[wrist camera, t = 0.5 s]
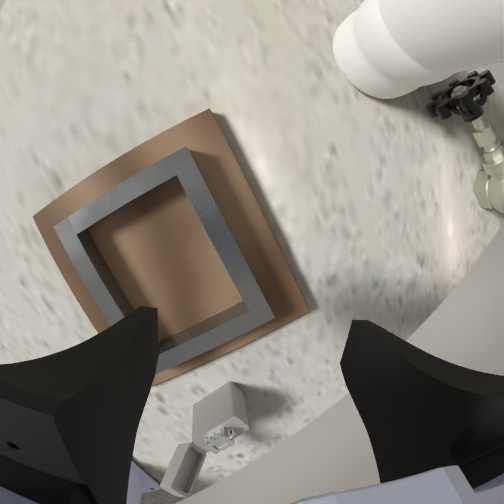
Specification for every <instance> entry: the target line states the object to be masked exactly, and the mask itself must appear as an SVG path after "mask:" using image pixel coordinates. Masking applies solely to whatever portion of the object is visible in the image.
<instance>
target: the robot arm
mask: <svg viewBox="0 0 504 504" xmlns="http://www.w3.org/2000/svg"><path fill="white" fill-rule="evenodd" d="M158 358H159V343H158V308H153V307H144V306H141V307H139V308H137V309H136V310H134V311H133V312H131V313H130V314H128V315H127V316H126V317H124V318H123V319H121V320H120V321H118V322H117V323H115V324H114V325H112V326H111V327H109V328H107V329H106V330H104V331H102V332H101V333H99V334H97V335H95V336H94V337H92V338H90V339H88V340H86V341H84V342H82V343H80V344H78V345H76V346H73V347H71V348H69V349H66V350H63V351H60V352H57V353H54V354H51V355H48V356H45V357H42V358H38V359H34V360H29V361H24V362H19V363H12V364H2V365H0V504H141V496H142V494H143V493H148V492H153V491H158V490H160V489H161V487H160V485H159V484H158V483H157V482H156V481H154V480H153V479H152V478H151V477H150V476H149V475H147V474H146V473H145V472H144V471H143V470H142V469H141V468H139V467H138V466H137V465H136V464H135V463H134V462H133V461H132V455H133V449H134V444H135V438H136V433H137V429H138V425H139V422H140V419H141V416H142V413H143V410H144V407H145V404H146V401H147V398H148V395H149V392H150V389H151V386H152V383H153V380H154V377H155V373H156V368H157V363H158ZM340 365H341V369H342V373H343V376H344V380H345V383H346V386H347V388H348V390H349V392H350V395H351V397H352V399H353V401H354V403H355V405H356V408H357V410H358V412H359V414H360V416H361V418H362V420H363V423H364V425H365V427H366V430H367V432H368V435H369V438H370V442H371V445H372V448H373V452H374V455H375V459H376V463H377V468H378V472H379V477H380V482H381V484H377V485H372V486H367V487H362V488H357V489H351V490H345V491H338V492H331V493H327V494H323V495H319V496H314V497H310V498H305V499H301V500H299V501H297V502H294V503H292V504H504V376H499V375H494V374H488V373H483V372H479V371H475V370H471V369H468V368H464V367H461V366H458V365H455V364H452V363H449V362H447V361H444V360H442V359H440V358H437V357H435V356H433V355H431V354H428V353H426V352H424V351H423V350H421V349H419V348H417V347H415V346H413V345H411V344H409V343H408V342H406V341H404V340H402V339H401V338H399V337H397V336H396V335H394V334H392V333H390V332H389V331H387V330H385V329H384V328H382V327H380V326H378V325H376V324H374V323H372V322H370V321H367V320H352V324H351V327H350V331H349V335H348V338H347V342H346V345H345V348H344V352H343V355H342V359H341V362H340Z"/></svg>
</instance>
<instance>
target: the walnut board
mask: <svg viewBox="0 0 504 504" xmlns="http://www.w3.org/2000/svg"><path fill="white" fill-rule="evenodd" d="M186 146H187V148H188V149H189V151H190V153H191V155H192V157H193V159H194V161H195V163H196V165H197V167H198V169H199V171H200V173H201V175H202V176H203V178H204V180H205V182H206V184H207V186H208V188H209V190H210V192H211V194H212V196H213V198H214V200H215V202H216V204H217V206H218V208H219V210H220V212H221V214H222V215H223V217H224V219H225V221H226V223H227V225H228V227H229V229H230V231H231V233H232V235H233V237H234V239H235V241H236V243H237V245H238V246H239V248H240V250H241V252H242V254H243V256H244V258H245V260H246V262H247V264H248V266H249V268H250V270H251V272H252V273H253V275H254V277H255V279H256V281H257V283H258V285H259V287H260V289H261V291H262V293H263V295H264V296H265V298H266V300H267V302H268V304H269V306H270V308H271V310H272V312H273V314H274V316H275V318H274V319H272V320H270V321H268V322H266V323H264V324H262V325H260V326H258V327H256V328H254V329H252V330H250V331H248V332H246V333H244V334H242V335H240V336H238V337H236V338H234V339H232V340H230V341H227V342H225V343H223V344H221V345H219V346H217V347H215V348H213V349H211V350H208V351H206V352H204V353H202V354H200V355H198V356H196V357H193V358H191V359H189V360H187V361H185V362H182V363H180V364H178V365H176V366H173V367H171V368H169V369H167V370H164V371H162V372H160V373H157V374H155V377H154V380H153V383H152V386H153V385H156V384H158V383H161V382H163V381H165V380H168V379H170V378H173V377H175V376H177V375H179V374H182V373H184V372H186V371H189V370H191V369H193V368H195V367H198V366H200V365H202V364H204V363H206V362H209V361H211V360H213V359H215V358H217V357H219V356H222V355H224V354H226V353H228V352H230V351H232V350H234V349H236V348H239V347H241V346H243V345H245V344H247V343H249V342H251V341H253V340H255V339H257V338H259V337H261V336H263V335H265V334H267V333H269V332H271V331H273V330H275V329H277V328H279V327H281V326H283V325H285V324H287V323H289V322H290V321H292V320H294V319H296V318H298V317H300V316H302V315H304V314H306V313H308V312H309V309H308V307H307V305H306V302H305V300H304V298H303V296H302V294H301V292H300V290H299V287H298V285H297V283H296V281H295V279H294V277H293V275H292V273H291V271H290V268H289V266H288V264H287V262H286V260H285V258H284V256H283V254H282V252H281V250H280V248H279V246H278V243H277V241H276V239H275V237H274V235H273V233H272V231H271V229H270V227H269V225H268V223H267V221H266V219H265V217H264V215H263V213H262V211H261V209H260V207H259V204H258V202H257V200H256V198H255V196H254V194H253V192H252V190H251V188H250V186H249V184H248V182H247V180H246V178H245V176H244V174H243V172H242V170H241V168H240V166H239V164H238V162H237V160H236V158H235V156H234V154H233V152H232V151H231V149H230V147H229V145H228V143H227V141H226V139H225V137H224V135H223V133H222V131H221V129H220V127H219V125H218V123H217V121H216V119H215V117H214V115H213V113H212V112H211V110H210V109H208V110H206V111H203V112H201V113H199V114H197V115H195V116H193V117H191V118H189V119H187V120H185V121H183V122H181V123H179V124H177V125H175V126H173V127H172V128H170V129H168V130H166V131H164V132H162V133H160V134H158V135H157V136H155V137H153V138H151V139H149V140H148V141H146V142H144V143H142V144H141V145H139V146H137V147H135V148H134V149H132V150H130V151H129V152H127V153H125V154H123V155H122V156H120V157H119V158H117V159H115V160H114V161H112V162H110V163H109V164H107V165H106V166H104V167H102V168H101V169H99V170H98V171H96V172H95V173H93V174H92V175H90V176H89V177H87V178H86V179H84V180H83V181H81V182H80V183H78V184H77V185H75V186H74V187H72V188H71V189H69V190H68V191H67V192H65V193H64V194H62V195H61V196H59V197H58V198H57V199H55V200H54V201H53V202H51V203H50V204H49V205H47V206H46V207H45V208H43V209H42V210H41V211H39V212H38V213H37V214H35V215H34V216H33V218H34V221H35V223H36V225H37V227H38V229H39V231H40V233H41V235H42V237H43V239H44V241H45V243H46V245H47V247H48V249H49V251H50V253H51V255H52V257H53V259H54V260H55V262H56V264H57V266H58V268H59V270H60V271H61V273H62V275H63V277H64V279H65V280H66V282H67V284H68V285H69V287H70V289H71V291H72V292H73V294H74V296H75V297H76V299H77V301H78V302H79V304H80V305H81V307H82V309H83V310H84V312H85V313H86V315H87V317H88V318H89V320H90V321H91V323H92V324H93V326H94V327H95V329H96V330H97V332H98V333H101V332H102V331H104V330H106V329H107V328H109V327H111V326H110V324H109V323H108V321H107V320H106V318H105V317H104V315H103V313H102V312H101V310H100V309H99V307H98V306H97V304H96V302H95V301H94V299H93V297H92V296H91V294H90V293H89V291H88V289H87V287H86V286H85V284H84V282H83V281H82V279H81V277H80V275H79V274H78V272H77V270H76V268H75V267H74V265H73V263H72V261H71V259H70V258H69V256H68V254H67V252H66V250H65V248H64V246H63V244H62V242H61V240H60V239H59V237H58V235H57V233H56V231H55V229H54V226H56V225H57V224H59V223H60V222H61V221H63V220H64V219H66V218H67V217H69V216H70V215H72V214H73V213H75V212H76V211H78V210H79V209H80V208H82V207H84V206H85V205H87V204H88V203H90V202H91V201H93V200H94V199H96V198H97V197H99V196H100V195H102V194H104V193H105V192H107V191H108V190H110V189H112V188H113V187H115V186H117V185H118V184H120V183H121V182H123V181H125V180H126V179H128V178H130V177H132V176H133V175H135V174H137V173H138V172H140V171H142V170H144V169H145V168H147V167H149V166H151V165H152V164H154V163H156V162H158V161H160V160H161V159H163V158H165V157H167V156H169V155H171V154H172V153H174V152H176V151H178V150H180V149H182V148H184V147H186ZM89 232H90V234H91V236H92V238H93V240H94V242H95V244H96V245H97V247H98V249H99V251H100V253H101V255H102V256H103V258H104V260H105V262H106V264H107V265H108V267H109V269H110V271H111V272H112V274H113V276H114V277H115V279H116V281H117V282H118V284H119V286H120V288H121V289H122V291H123V292H124V294H125V296H126V297H127V299H128V301H129V302H130V304H131V305H132V307H133V309H134V310H136V309H137V308H139V307H141V306H144V307H153V308H158V342H160V341H162V340H164V339H166V338H168V337H171V336H173V335H175V334H177V333H179V332H181V331H183V330H185V329H187V328H189V327H191V326H193V325H195V324H198V323H200V322H202V321H204V320H206V319H208V318H210V317H212V316H214V315H216V314H218V313H220V312H222V311H224V310H226V309H228V308H230V307H232V306H234V305H236V304H238V303H240V302H242V301H243V299H242V297H241V295H240V294H239V292H238V290H237V288H236V286H235V284H234V283H233V281H232V279H231V277H230V275H229V273H228V272H227V270H226V268H225V266H224V264H223V262H222V260H221V259H220V257H219V255H218V253H217V251H216V249H215V247H214V246H213V244H212V242H211V240H210V238H209V236H208V234H207V232H206V230H205V229H204V227H203V225H202V223H201V221H200V219H199V217H198V215H197V213H196V211H195V210H194V208H193V206H192V204H191V202H190V200H189V198H188V196H187V194H186V192H185V190H184V188H183V186H182V184H181V182H180V180H179V179H178V177H177V178H175V179H173V180H172V181H170V182H168V183H166V184H164V185H163V186H161V187H159V188H157V189H155V190H154V191H152V192H150V193H148V194H147V195H145V196H143V197H141V198H140V199H138V200H136V201H134V202H133V203H131V204H129V205H128V206H126V207H124V208H123V209H121V210H119V211H118V212H116V213H114V214H113V215H111V216H109V217H108V218H106V219H104V220H103V221H101V222H100V223H98V224H96V225H95V226H93V227H92V228H90V229H89Z"/></svg>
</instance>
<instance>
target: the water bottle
mask: <svg viewBox="0 0 504 504" xmlns="http://www.w3.org/2000/svg"><path fill="white" fill-rule="evenodd" d="M333 53H334V57H335V60H336V63H337V65H338V67H339V69H340V70H341V72H342V73H343V75H344V76H345V77H346V78H347V80H348V81H349V82H350V83H351V84H353V85H354V86H355V87H356V88H357V89H359V90H360V91H362V92H364V93H366V94H368V95H370V96H373V97H376V98H381V99H392V98H397V97H400V96H403V95H405V94H408V93H410V92H412V91H414V90H416V89H417V88H419V87H420V86H426V85H431V84H434V83H437V82H440V81H442V80H444V79H447V78H448V77H450V76H452V75H453V74H454V73H457V72H462V71H467V70H472V69H476V68H480V67H484V66H488V65H492V64H496V63H499V62H503V61H504V0H364V1H363V2H362V4H361V5H360V7H359V9H357V10H356V11H354V12H353V13H352V14H351V15H349V16H348V17H347V18H346V19H345V20H344V21H343V22H342V23H341V24H340V26H339V27H338V28H337V30H336V32H335V35H334V38H333Z"/></svg>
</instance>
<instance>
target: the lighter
mask: <svg viewBox="0 0 504 504" xmlns="http://www.w3.org/2000/svg"><path fill="white" fill-rule="evenodd" d="M247 430H249V423H248V417H247V412H246V406H245V401H244V395H243V392H242V391H241V390H240V389H239V388H238V387H237V386H236V385H235V384H234V383H233V382H228V383H226V384H225V385H223V386H222V387H220V388H219V389H217V390H216V391H214V392H213V393H211V394H210V395H208V396H207V397H205V398H204V399H202V400H201V401H199V402H197V403H196V404H194V405H193V425H192V443H185V444H178V447H177V449H176V451H175V453H174V455H173V458H172V460H171V462H170V464H169V466H168V469H167V471H166V473H165V475H164V477H163V479H162V482H161V484H160V487H161V488H162V489H163V490H165V491H167V492H169V493H170V494H172V495H174V496H176V497H186V498H188V497H190V495H191V492H192V490H193V487H194V485H195V482H196V480H197V477H198V475H199V472H200V470H201V467H202V465H203V462H204V459H205V457H206V452H210V451H212V452H213V453H216V454H217V453H218V452H220V451H222V450H224V449H226V448H228V447H229V446H231V445H233V444H235V443H234V438H235V437H237V436H239V435H240V434H242V433H244V432H245V431H247Z"/></svg>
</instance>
